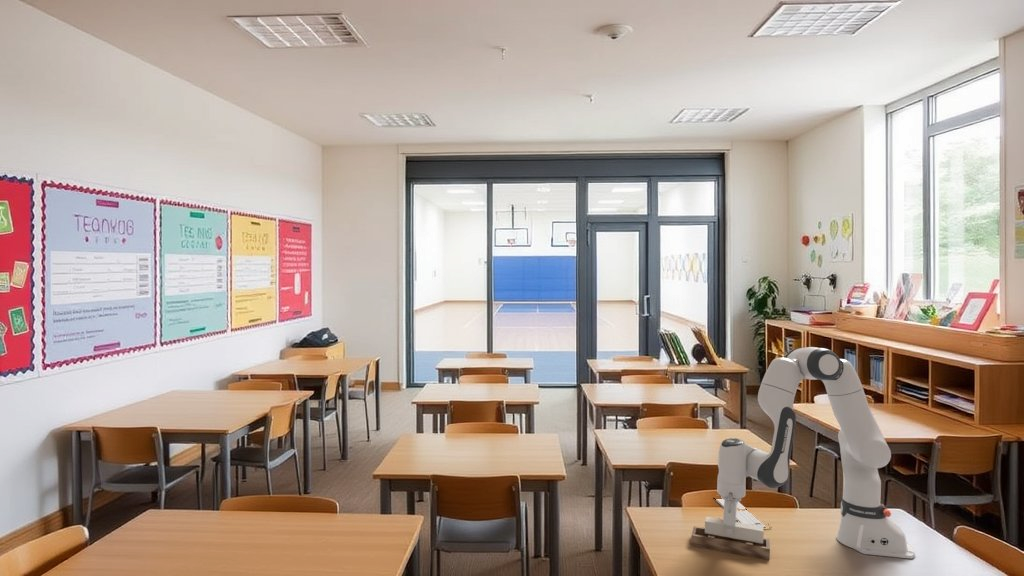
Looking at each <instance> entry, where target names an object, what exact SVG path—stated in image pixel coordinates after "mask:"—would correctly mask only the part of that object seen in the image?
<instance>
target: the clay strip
mask: <svg viewBox="0 0 1024 576" xmlns="http://www.w3.org/2000/svg"><path fill="white" fill-rule="evenodd" d="M704 528H705V533H707V534H713V535H718V536H724V537H729V538H735V539H740V540H746V541H751V542H757V543H762V544H763V538H764V530H765V529H763V526H757V525H751V524H745V523H739V522H738V521H736V524H735V527H733V533H732V534H728V533H727V526H724V524H723V519H720V518H717V517H710V516H705V520H704Z"/></svg>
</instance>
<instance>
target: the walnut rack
mask: <svg viewBox="0 0 1024 576" xmlns="http://www.w3.org/2000/svg"><path fill="white" fill-rule="evenodd" d="M690 537H691V538H690V539H691V540H690V541H691V543H690V546H691V547H698V548H704V549H708V550H715V551H719V552H723V553H729V552H730V554H736V555H740V554H741V555H742V556H747V557H750V558H757V559H763V560H767V561H769V560H770V559H771V558H770V556H771V555H770V553H771V549H770V548H771V546H770V545H771V544H770V543H771V542H770V538H767V537H766V538H765V537H763V544H762V543H757V542H751V541H746V540H740V539H735V538H729V537H724V536H718V535H713V534H707V533H705V527H700V526H695V525H693V528H692V531H691V536H690Z"/></svg>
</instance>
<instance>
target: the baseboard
mask: <svg viewBox="0 0 1024 576" xmlns="http://www.w3.org/2000/svg"><path fill="white" fill-rule="evenodd" d="M715 502H717V503H718V504H719V505H720V506H721V507H722V508H723V509H724V500H723V499H716V500H715ZM737 508H739V509H745V508H746V507H745V506H744V505H743V504H742V503H741V502H740V501H739V502H738V504H737ZM747 510H748V509H747ZM747 510H745V511H742V510H740V511H738V510H737V513H736V519H737V520H738V521H739V522H740V523H745V524H751V525H757V526H763V528H767V527H768V526H769V525H770V524H769V523H768V524H767V527H765V525H766V524H765V525H763V524H764V523H763V522H762V521H761V520H760V519H759V520H760V521H761V522H762V523H763V524H762V523H761V522H760V521H759V520H757V519H756V518H755V517H756V516H755V515H754V514H753V513H752V512H751V513H752V514H753V515H754V516H755V517H754V516H753V515H752V514H751V513H749V512H748V511H747ZM737 520H736V521H737ZM738 521H737V522H738ZM771 528H773V526H770V529H771Z"/></svg>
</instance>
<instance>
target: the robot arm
mask: <svg viewBox="0 0 1024 576" xmlns="http://www.w3.org/2000/svg"><path fill="white" fill-rule="evenodd" d="M804 379H805V380H810V381H811V380H813V381H814V380H815V381H816V380H818V381H821V382H822V383H823V385H824V387H825V390H826V391H825V392H826V394H827V397H828V400H829V402H830V403H829V404H830V406H831V409H832V412H833V415H834V417H835V419H836V421H837V423H838V424H839V427H840V430H839V431H838V434H837V439H838V443H839V450H840V459H841V466H842V476H843V477H842V479H843V481H842V482H843V485H842V497H841V501H840V515H841V518H840V524H839V528H838V531H837V534H836V536H835V538H836V540H837V541H838V542H840V544H842V545H844V546H846V547H848V548H851V549H853V550H855V551H857V552H859V553H861V554H864V555H870V556H871V555H872V556H881V557H882V556H883V557H890V558H891V557H892V558H899V559H900V558H902V559H914V558H915V556H916V554H915V550H914V548H913V547H912V545H911V544H910V543H909V542H908V541H907V538H906V534H905V532H904V531H903V529H902V528H901V526H899V525H898V524H897V523H895V522H894V521H893V520H892V519H891V518H890V517H891V516H892V513H891V510H889V509H888V508H887V507H886V505H884V504H883V503H881V495H882V494H881V491H882V489H881V488H882V480H881V478H880V475H879V469H881V468H884V467H886V466H887V465H888V464H889V462H890V461H891V458H892V451H891V449H890V447H889V445H888V443H887V441H886V439H885V437H884V434H883V433H882V431H881V429H880V426H879V425H878V423H877V420H876V418H875V417H874V414H873V412H872V410H871V408H870V405H869V402H868V399H867V397H866V393H865V390H864V387H863V384H862V382H861V379H860V377H859V375H858V373H857V371H856V369H855V368H854V365H853V364H852V363H851V361H849V360H847V359H844V358H840V357H839V356H838V355H837V353H835V352H834V351H832V350H831V349H828V348H825V347H815V346H808V347H796V348H792V349H791V350H789V351H788V352H787V353H786V354H785V355H784V357H781V356H780V357H776V358H774V359H773V360H771V362H770V364H769V365H768V368H767V369H766V371H765V373H764V376H763V378H762V379H761V380H762V381H761V383H760V387H759V389H758V392H757V393H758V394H757V403H758V405H759V406H760V408H761V410H762V411H763V412H764V413H765V414H766V415H767V416H768V417H769V418H770V419H771V421H772V423H773V427H774V430H773V438H772V442H771V446H770V447H771V449H770V452H766V451H764V450H763V449H760V448H758V447H755V446H751V445H749V444H748V443H746V442H745V441H744V440H743V439H741V438H736V437H735V438H733V437H731V438H725V439H724V440H722V441H721V443H720V445H719V448H718V449H719V450H718V457H717V467H718V474H717V482H716V483H717V484H716V486H717V487H716V493H717V495H718V494H719V496H721V498H722V499H723V500H724V508H723V519H722V520H723V524H724V526H727V533H728V534H732V533H733V527H735V524H736V522H737V520H736V513H737V504H738V502H739V503H740V502H741V501H742V498H745V497H746V485H747V480H746V479H747V478H748V477H749V478H752V479H754V480H756V481H758V482H760V483H762V484H763V485H764V486H766V487H768V488H769V489H770V488H771V489H778V488H780V487H782V486H783V485H784V484H786V483H787V482H788V479H790V473H791V472H790V471H791V470H790V469H791V468H790V464H791V455H792V454H791V453H792V449H793V448H792V447H793V441H794V436H795V430H796V423H797V415H796V412H795V411H794V402H795V401H794V400H795V397H796V393H797V390H798V386H799V385H800V383H801V382H802V381H803V380H804Z"/></svg>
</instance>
